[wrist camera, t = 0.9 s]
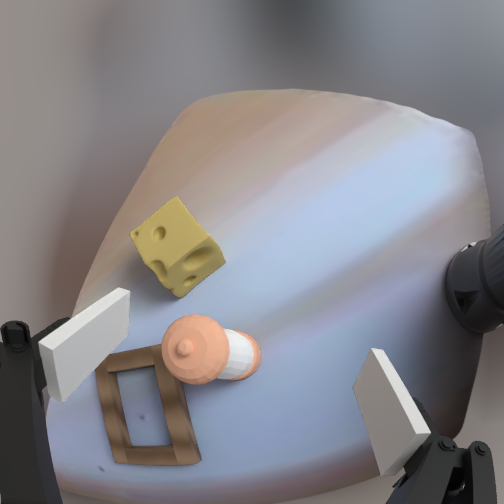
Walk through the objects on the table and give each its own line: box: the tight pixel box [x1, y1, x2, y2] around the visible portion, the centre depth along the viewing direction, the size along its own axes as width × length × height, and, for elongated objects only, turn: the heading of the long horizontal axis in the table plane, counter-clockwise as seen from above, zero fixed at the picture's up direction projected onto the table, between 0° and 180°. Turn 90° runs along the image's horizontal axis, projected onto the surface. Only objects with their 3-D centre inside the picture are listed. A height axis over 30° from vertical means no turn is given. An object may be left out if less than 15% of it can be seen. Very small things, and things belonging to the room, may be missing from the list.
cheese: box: [129, 196, 226, 298], centre depth 45 cm, size 10×11×10 cm
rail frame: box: [95, 344, 202, 465], centre depth 39 cm, size 20×16×2 cm
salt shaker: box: [161, 314, 261, 385], centre depth 33 cm, size 7×7×19 cm
